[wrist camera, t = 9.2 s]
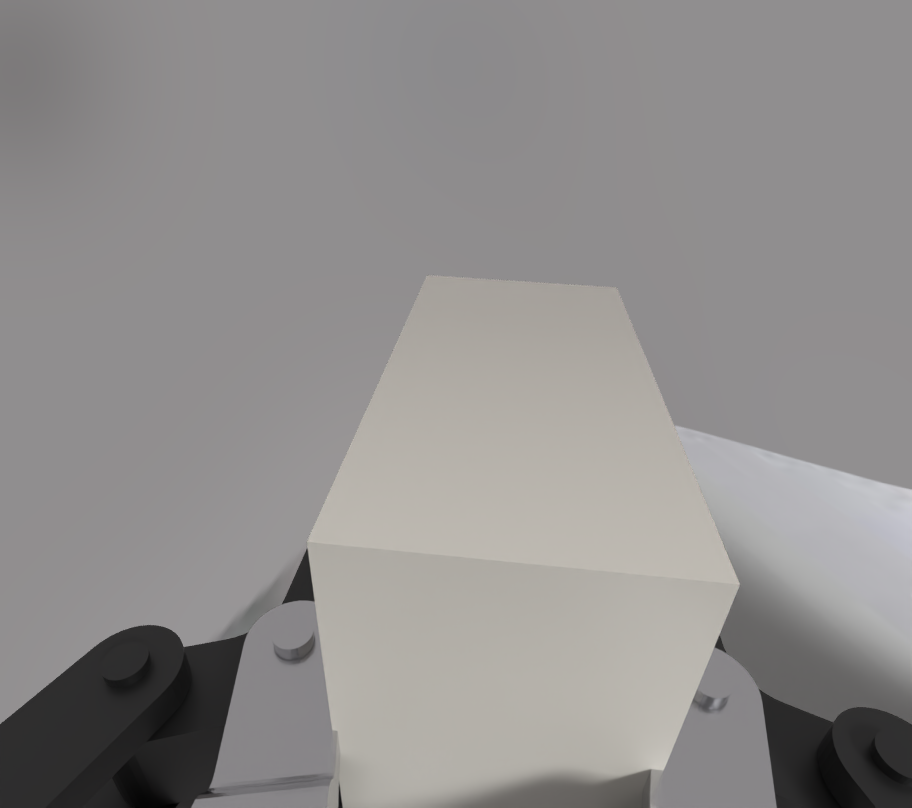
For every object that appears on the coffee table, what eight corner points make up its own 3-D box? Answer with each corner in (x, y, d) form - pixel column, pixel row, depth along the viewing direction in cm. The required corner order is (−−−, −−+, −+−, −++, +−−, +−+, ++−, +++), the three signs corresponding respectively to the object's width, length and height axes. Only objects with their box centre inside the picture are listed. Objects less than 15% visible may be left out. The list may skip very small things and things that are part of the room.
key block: (551, 641, 16) (616, 287, 11) (569, 999, 10) (739, 584, 5) (424, 627, 16) (427, 275, 11) (364, 968, 10) (306, 542, 5)
